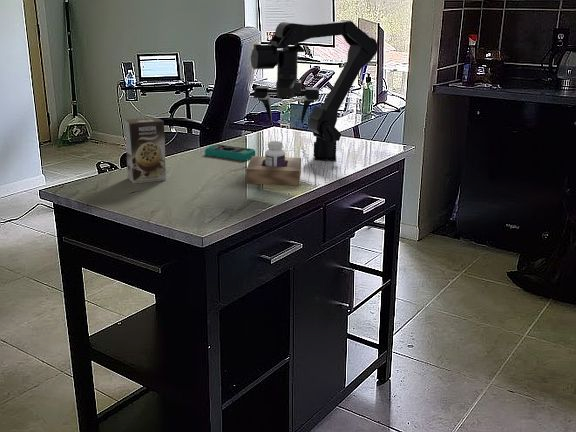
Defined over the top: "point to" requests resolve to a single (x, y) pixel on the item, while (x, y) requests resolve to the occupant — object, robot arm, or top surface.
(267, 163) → the pill bottle
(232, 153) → the digital multimeter
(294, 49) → the robot arm
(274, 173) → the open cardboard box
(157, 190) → the top surface
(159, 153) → the cookie box
